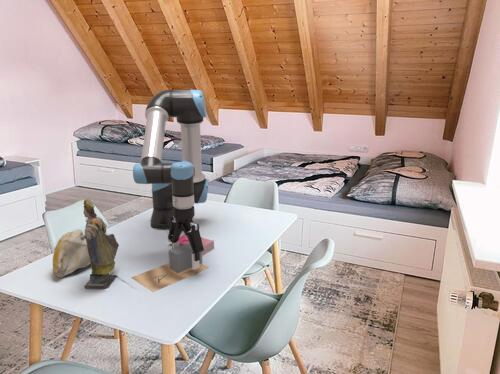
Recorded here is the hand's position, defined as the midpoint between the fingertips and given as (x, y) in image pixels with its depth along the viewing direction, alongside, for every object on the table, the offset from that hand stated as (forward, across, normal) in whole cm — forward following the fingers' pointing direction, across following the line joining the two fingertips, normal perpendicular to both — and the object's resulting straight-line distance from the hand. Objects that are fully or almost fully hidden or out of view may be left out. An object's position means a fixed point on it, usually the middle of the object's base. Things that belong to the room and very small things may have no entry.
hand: (186, 263), depth 144 cm
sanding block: (+2, 0, 0) cm, 2 cm away
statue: (+3, -16, -25) cm, 30 cm away
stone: (+3, -31, -24) cm, 40 cm away
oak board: (+3, -1, -6) cm, 7 cm away
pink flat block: (+3, -15, +12) cm, 19 cm away
